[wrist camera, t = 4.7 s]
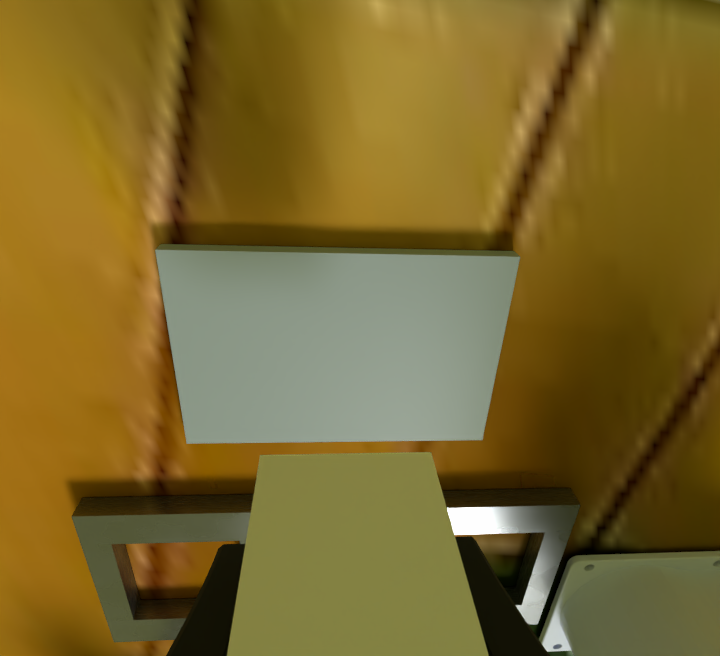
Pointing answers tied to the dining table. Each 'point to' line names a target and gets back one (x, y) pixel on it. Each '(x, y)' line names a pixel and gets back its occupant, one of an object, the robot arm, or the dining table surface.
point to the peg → (352, 561)
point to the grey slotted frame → (230, 523)
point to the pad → (334, 341)
